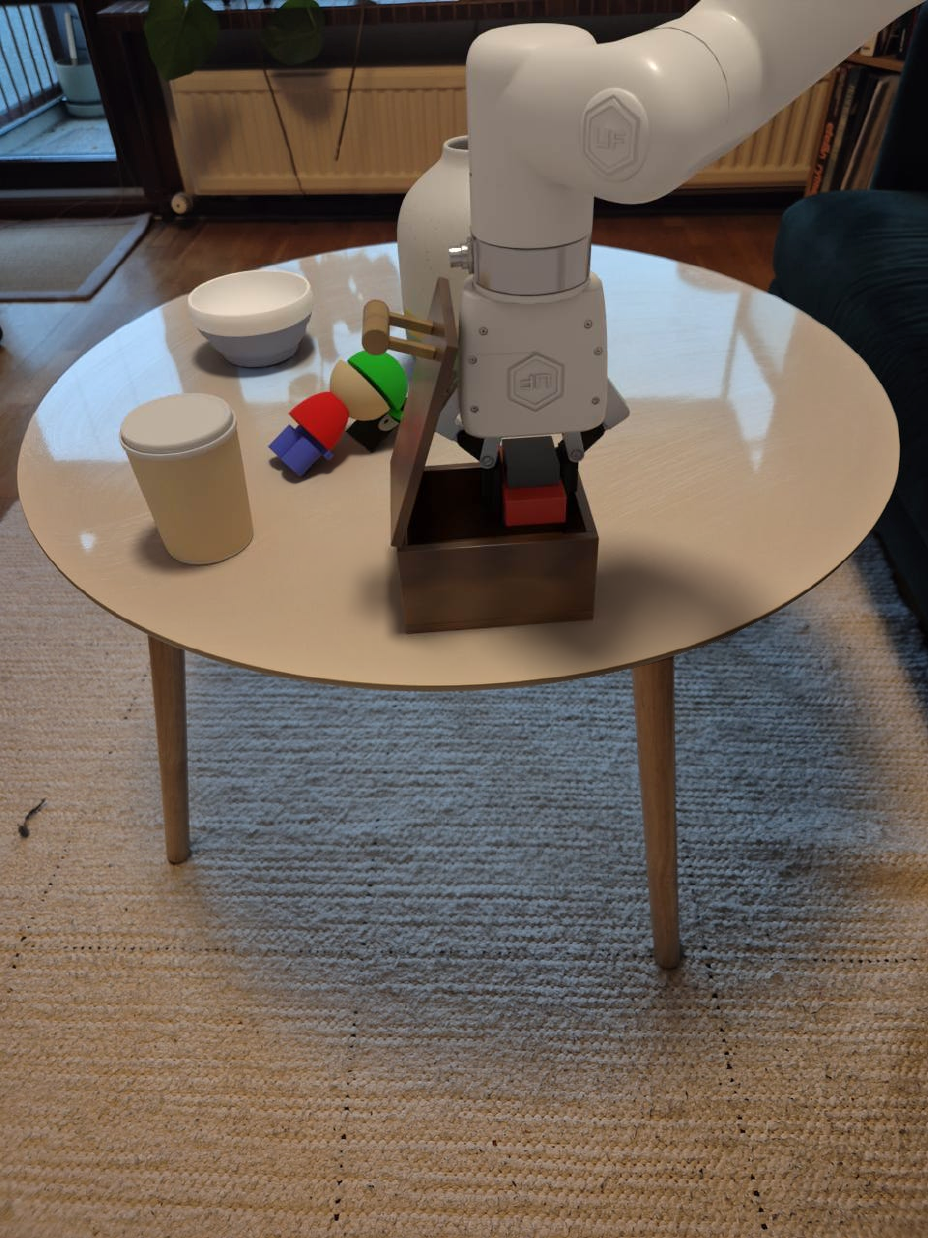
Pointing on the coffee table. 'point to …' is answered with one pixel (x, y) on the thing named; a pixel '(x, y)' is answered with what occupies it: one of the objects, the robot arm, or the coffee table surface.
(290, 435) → the toy
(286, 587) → the coffee table surface
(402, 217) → the vase
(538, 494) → the car
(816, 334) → the coffee table surface
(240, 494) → the coffee cup
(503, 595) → the chest
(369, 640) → the coffee table surface
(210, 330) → the bowl
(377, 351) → the lid
